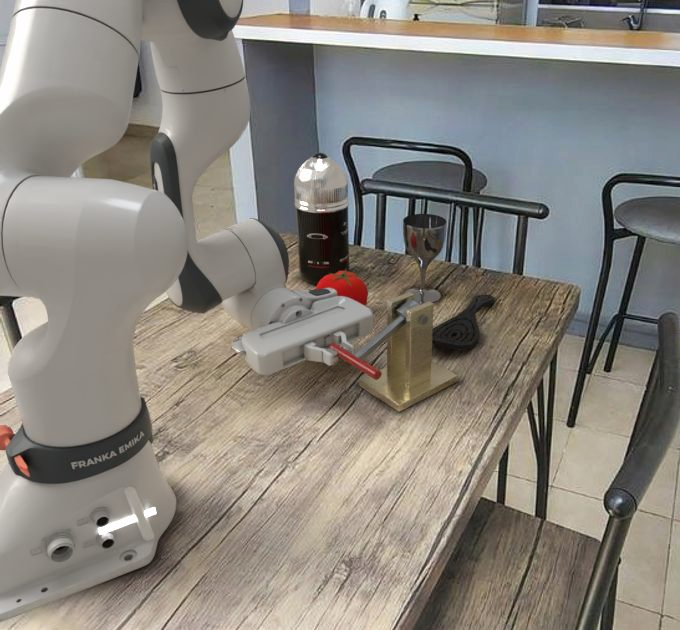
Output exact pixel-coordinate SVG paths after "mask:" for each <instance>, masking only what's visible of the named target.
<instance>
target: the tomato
mask: <svg viewBox="0 0 680 630" xmlns="http://www.w3.org/2000/svg"><path fill="white" fill-rule="evenodd" d="M323 288H332V289H335V290H336V291H337V296H344V297H348V298H351V299H353V300H355V301H357V302H359V303H361V304H362V305H364V306H366V307H367V304H368V297H369V290H368V286H367V284H366V283H365V281H363V279H362V278H359V276H357V274H356V273H355V272H352V271H349V272H347V271H346V270H345V271H338V272H337V273H335V274H332V273H330V274H329V275H326V276H324V277H323V278H322V279H321V280H320V281H319V283H318V284H316V286H315V289H323Z"/></svg>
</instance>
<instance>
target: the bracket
mask: <svg viewBox="0 0 680 630" xmlns="http://www.w3.org/2000/svg"><path fill="white" fill-rule="evenodd" d="M409 299H411V300H413V301H414V294H413V293H411V292H409V293H406V294H404V293H403V294H400V295H398V296H396V297H393V298H390V299H388V300H387V301H386V302H387V304H386V307H387V308H386V327H387V326H388V325H389V324H390V323H392V322H393V321H394V320H395V319H396V318H397V317H399V316H398V313H397V309H398V308H400V307H401V306H402V305H403V304H404V303H406V302H407V301H408V300H409ZM434 306H435V304H434V302H433V303H432V302H429V301H428V302H426V303H423V304H420V305H418V306H416V307H413V308H411V309H408V310H407V312H406V325H404V326H402V327H401V328H400V329H399V330H398V331H396V332H395V333H394V334H393V335H392V336H391V337H389V338H388V339H387V340H386V366H385V367H382V368H381V369H378V370H379V371H381V373H382V375H381V377H380V378H379V379H378V380H375V379H373V378H372V377H370V376H368V375H366V376H362V377H361V378H359V379H358V386H359V387H360V388H361V389H363V390H364V391H366V392H367V393H369V394H370V395H372V396H374V397H376V398H377V399H378V400H380V401H381V402H383V403H385V404H386V405H388V406H389V407H391V408H392V409H394V410H395V411H397V412H399V413H400V412H402V411H404V410H406V409H408V408H409V407H412V406H413V405H416V404H418V403H419V402H422V401H423V400H425V399H427V398H429V397H431V396H433V395H435V394H436V393H438V392H440V391H443V390H444V389H446V388H448V387H450V386H452V385H454V384H456V383H458V379H459V378H458V377H459V376H458V374H456V373H454V372H453V371H451V370H449V369H448V368H445V367H443V366H442V365H440V364H438V363H437V362H435V361H433V360H432V357H433V355H432V354H433V352H432V351H433V344H432V333H433V328H434V327H433V326H434Z"/></svg>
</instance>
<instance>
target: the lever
mask: <svg viewBox="0 0 680 630" xmlns="http://www.w3.org/2000/svg"><path fill="white" fill-rule="evenodd" d="M418 305H421V304H420V303H417V302H415V301H413V300H411V299H409V300H408V301H407V302H406V303H404V304H403V305H402V306H401V307H400V308H398V309H397V313H398V316H399V317H397V318H396V319H395V320H394V321H393V322H392V323H390V324H389V325H388V326H387V325H386V326H385V327H384V328H383V329H382V330H381V331H380V332H379V333H377V334H376V335H374V336H373V338H371V339H370V340H369V341H368V342H367V343H365V344H364V345H363V346H361V347H360V348H359V349H357V351H356V352H354V355H353V354H352V353H350V352H348V351H347V350H345V349H344V348H342V347H340V346H339V345H337V344H335V343H331V344H330V345H329V347H328V349H329V348H332V349H334V350H335V351H337V352H338V355H339V357H338V358H340V359H342V360H343V361H345V362H346V363H348V364H350V365H351V366H353V367H354V368H356V369H357V370H359V371H360V372H362V373H364V374H365V375H366V376H370V377H372V378H373V379H375V380H378V379H379V378H380V377H381V375H382V373H381V371H379V370H380V369H378V368H376V367H375V366H373V365H372V364H370V363H368V362H367V361H365V359H366V358H368V357H369V356H370V355H371V354H373V352H374V351H376V350H377V349H378V348H379V347H380V346H381V345H383V344H384V343H385V342H387V339H388V338H389V337H391V336H392V335H393V334H394V333H395V332H396V331H398V330H399V329H400V328H401V327H402V326H404V325H406V312H407V310H408V309H411V308H413V307H416V306H418Z"/></svg>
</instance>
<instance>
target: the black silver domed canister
mask: <svg viewBox="0 0 680 630" xmlns="http://www.w3.org/2000/svg"><path fill="white" fill-rule="evenodd" d="M293 180H294V181H293V189H294V190H293V191H294V207H295V219H296V236H297V255H298V257H297V258H298V270H299V271H298V272H299V276H300V277H301V279H303V280H304V281H305V282H306V283H309V284H312V285H317V284H318V283H319V281H320V280H321V279H322V278H323V277H324V276H326V275H329V274H330V273H332V274H335V273H337V272H338V271H345V270H346V271H347V272H350V237H349V236H350V235H349V233H350V232H349V205H350V201H349V185H348V183H349V181H348V177H347V174H346V172H345V171H344V169H343V168H342V167H341V166H340V165H339V164H338V163H337V162H336V161H334V160H333V159H332V158H331V157H329V156H328V155H327V154H325V153H324V152H316V153H314V154H313V155H311V157H309V158H308V159H307V160H306V161H304V163H302V165H300V167H298V169H297V171H296V173H295V176H294V179H293Z"/></svg>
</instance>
